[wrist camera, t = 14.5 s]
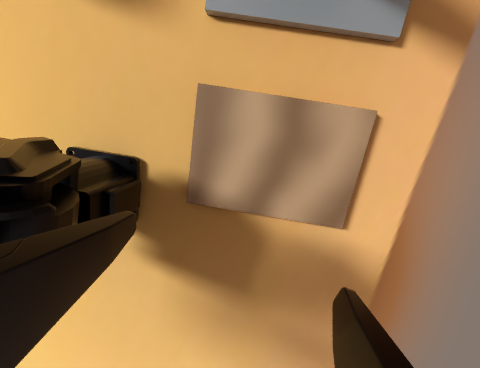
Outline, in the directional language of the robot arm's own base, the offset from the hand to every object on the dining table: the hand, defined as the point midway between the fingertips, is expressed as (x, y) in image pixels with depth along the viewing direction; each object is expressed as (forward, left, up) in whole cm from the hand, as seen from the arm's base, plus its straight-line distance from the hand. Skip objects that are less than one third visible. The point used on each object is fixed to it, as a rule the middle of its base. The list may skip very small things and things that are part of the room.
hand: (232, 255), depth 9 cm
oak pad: (+2, +3, -11) cm, 12 cm away
